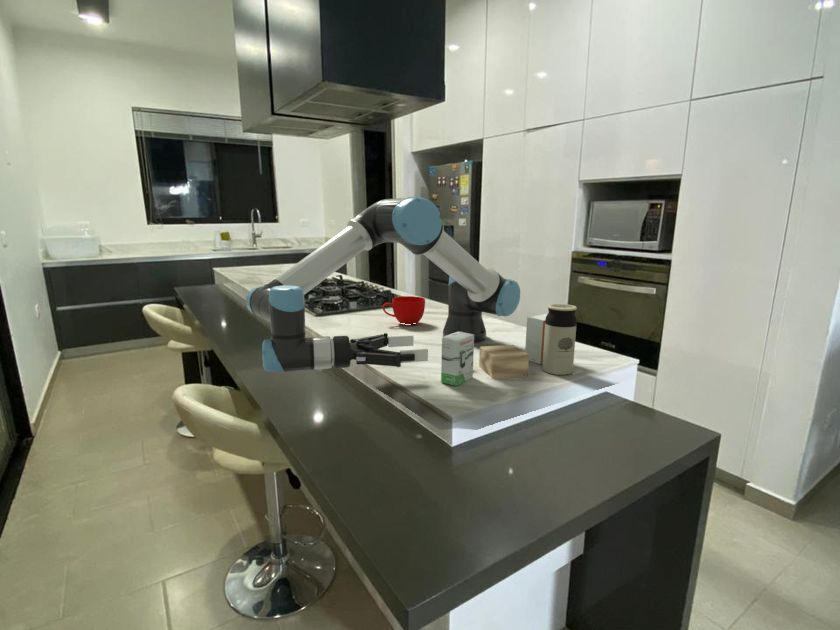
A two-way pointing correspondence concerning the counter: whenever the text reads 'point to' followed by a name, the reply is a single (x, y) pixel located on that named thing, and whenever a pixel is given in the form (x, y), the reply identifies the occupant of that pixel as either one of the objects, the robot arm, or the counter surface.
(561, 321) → the travel mug
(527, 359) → the oak block
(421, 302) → the ceramic cup
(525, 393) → the counter surface
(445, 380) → the ink box
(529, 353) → the small box
